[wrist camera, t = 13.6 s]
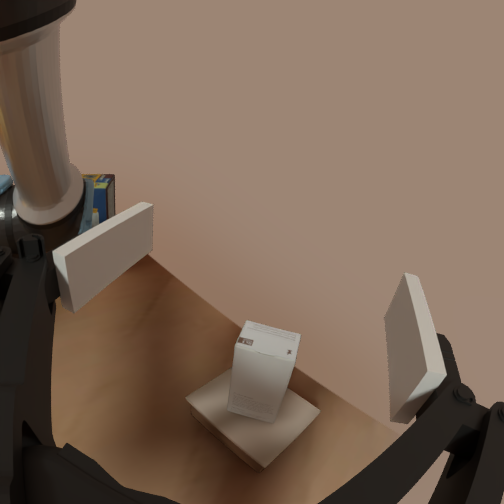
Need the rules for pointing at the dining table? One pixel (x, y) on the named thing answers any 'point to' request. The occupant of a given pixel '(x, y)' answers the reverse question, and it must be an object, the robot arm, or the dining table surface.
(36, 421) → the robot arm
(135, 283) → the dining table surface
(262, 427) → the podium
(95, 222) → the protein box
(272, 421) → the skincare box
